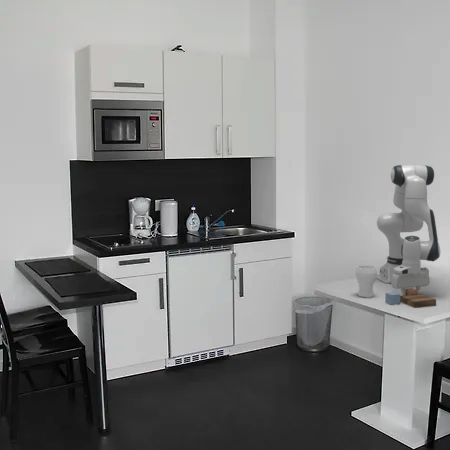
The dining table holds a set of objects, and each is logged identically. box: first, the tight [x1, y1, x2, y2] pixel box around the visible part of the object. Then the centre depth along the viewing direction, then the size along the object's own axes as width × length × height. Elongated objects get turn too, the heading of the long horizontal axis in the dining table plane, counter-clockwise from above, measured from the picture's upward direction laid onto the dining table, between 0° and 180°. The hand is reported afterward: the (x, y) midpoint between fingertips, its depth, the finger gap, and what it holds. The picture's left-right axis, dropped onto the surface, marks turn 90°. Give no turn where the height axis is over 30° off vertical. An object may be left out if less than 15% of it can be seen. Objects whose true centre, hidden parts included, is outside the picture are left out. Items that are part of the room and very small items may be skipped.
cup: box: [355, 264, 378, 298], centre depth 318 cm, size 11×11×15 cm
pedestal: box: [400, 293, 437, 309], centre depth 302 cm, size 12×12×3 cm
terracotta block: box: [405, 287, 419, 295], centre depth 311 cm, size 5×5×5 cm
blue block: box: [385, 291, 401, 306], centre depth 303 cm, size 5×5×5 cm
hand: (410, 295), depth 311 cm, fingers open, 5 cm apart
